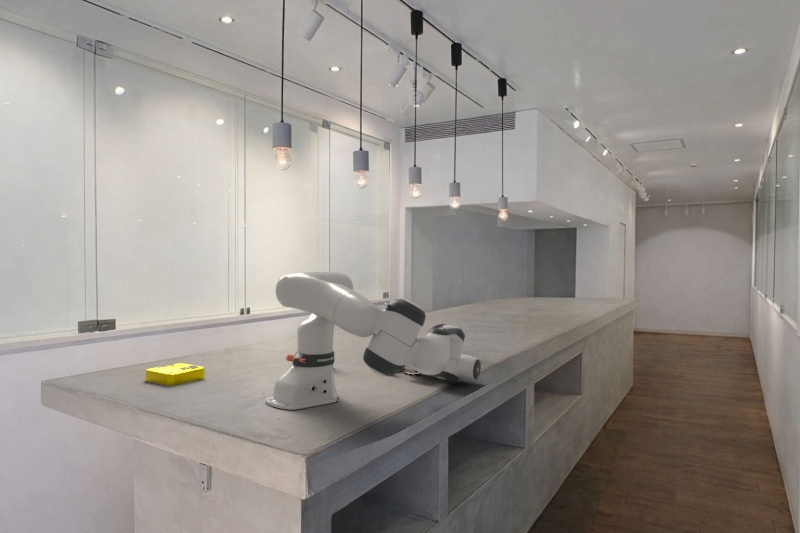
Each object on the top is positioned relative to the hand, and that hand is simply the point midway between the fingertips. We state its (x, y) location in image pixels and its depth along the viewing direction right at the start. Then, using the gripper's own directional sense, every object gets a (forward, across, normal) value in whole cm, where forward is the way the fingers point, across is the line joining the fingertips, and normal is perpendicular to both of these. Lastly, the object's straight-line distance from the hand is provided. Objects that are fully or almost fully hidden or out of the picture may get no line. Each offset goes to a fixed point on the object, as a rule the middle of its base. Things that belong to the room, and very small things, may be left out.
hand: (410, 358), depth 203 cm
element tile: (+55, -64, -6) cm, 85 cm away
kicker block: (-1, 0, -6) cm, 6 cm away
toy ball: (+9, +33, -6) cm, 35 cm away
